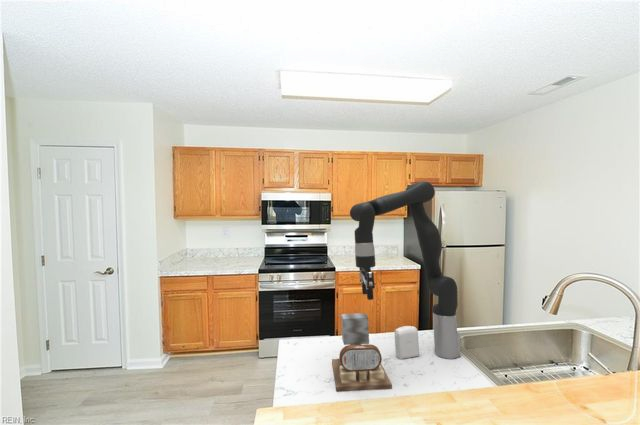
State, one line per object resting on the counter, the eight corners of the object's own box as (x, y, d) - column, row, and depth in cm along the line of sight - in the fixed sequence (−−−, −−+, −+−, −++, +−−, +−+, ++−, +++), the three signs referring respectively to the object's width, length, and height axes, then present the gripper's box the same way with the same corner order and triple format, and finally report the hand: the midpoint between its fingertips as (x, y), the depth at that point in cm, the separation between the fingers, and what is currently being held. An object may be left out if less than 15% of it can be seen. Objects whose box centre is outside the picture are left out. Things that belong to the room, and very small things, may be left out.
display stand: (377, 360, 113) (375, 312, 114) (392, 388, 93) (389, 330, 94) (332, 362, 112) (330, 314, 113) (336, 391, 92) (334, 332, 93)
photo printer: (399, 360, 113) (397, 329, 113) (394, 355, 117) (392, 326, 118) (421, 356, 115) (419, 326, 116) (415, 352, 119) (413, 323, 120)
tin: (380, 366, 99) (379, 342, 99) (383, 371, 96) (381, 346, 96) (339, 368, 98) (338, 344, 99) (340, 372, 95) (339, 348, 96)
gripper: (379, 255, 99) (382, 300, 98) (370, 252, 113) (372, 291, 112) (358, 256, 98) (361, 302, 97) (352, 253, 112) (354, 293, 111)
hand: (367, 296), depth 105 cm, fingers open, 8 cm apart
